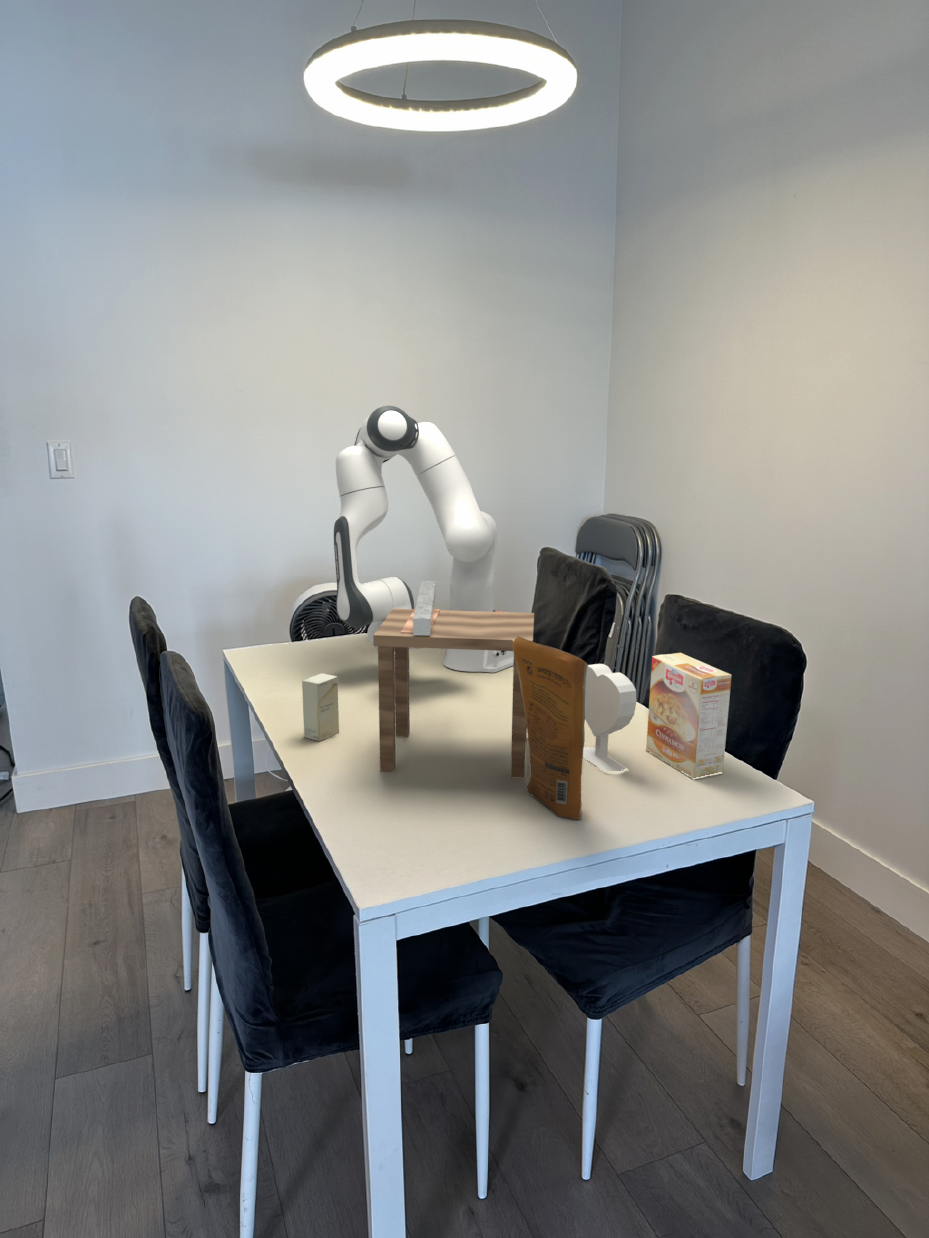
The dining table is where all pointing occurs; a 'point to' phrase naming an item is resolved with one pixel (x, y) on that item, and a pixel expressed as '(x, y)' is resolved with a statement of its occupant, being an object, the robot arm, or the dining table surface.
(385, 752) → the wooden stool
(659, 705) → the coffeecake box
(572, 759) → the pancake mix bag
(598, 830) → the dining table surface
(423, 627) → the brushed metal block
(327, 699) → the skincare box
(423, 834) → the dining table surface
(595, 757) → the heart sculpture
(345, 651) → the dining table surface
